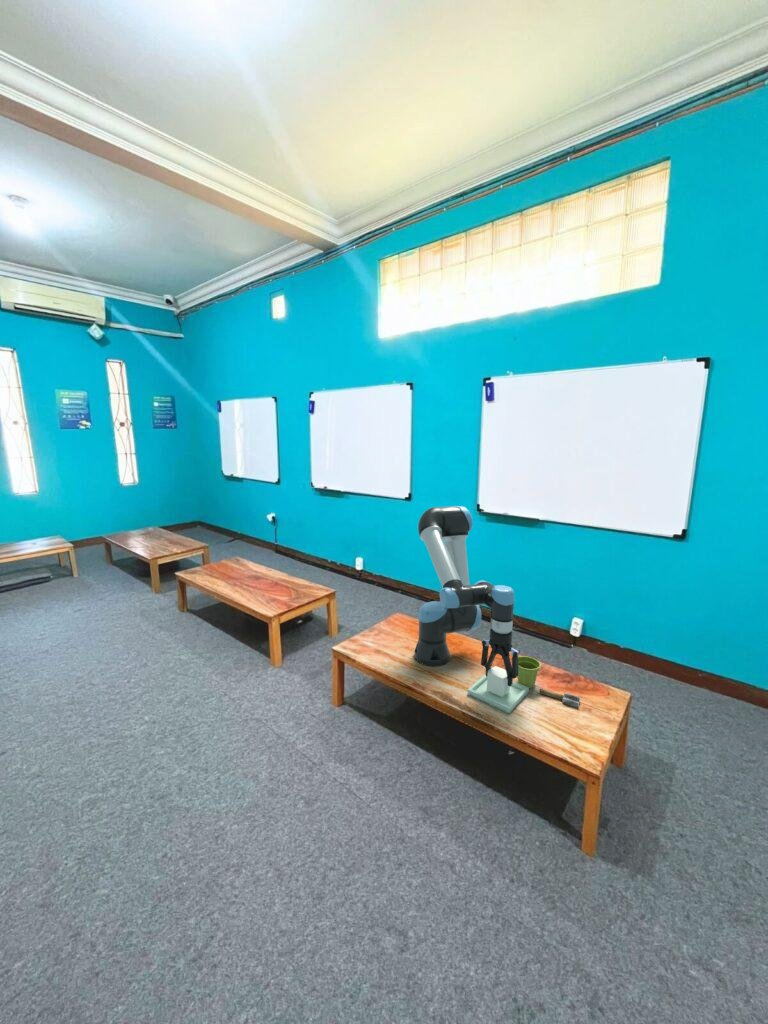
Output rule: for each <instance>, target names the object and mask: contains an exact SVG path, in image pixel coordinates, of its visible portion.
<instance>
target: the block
mask: <svg viewBox="0 0 768 1024" xmlns="http://www.w3.org/2000/svg"><path fill="white" fill-rule="evenodd" d="M506 676H507V673H506V669H505V668H501V667H499V666H496V665H495V666H493V667H492V669H491V670H490V671H489V672H488V674H487V691H490V692H492V693H494V694H496V695H499V696H501V697H503V696H504V695H505V694H504V691H505V677H506Z"/></svg>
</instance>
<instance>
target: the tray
mask: <svg viewBox="0 0 768 1024" xmlns="http://www.w3.org/2000/svg"><path fill="white" fill-rule="evenodd" d="M529 689H530V688H528V687H526V686H523V685H521V684H519V683H518V682H516V681H513V683H512V685H511V686H510V692H509V693H508V694H507V695H506V694H505V695H504V696H503V697H501V696H499V695H496V694H494V693H492V692H490V691H487V677H486V673H484V675H483V676H482V677H480V678H479V679H478V680H477V681H476V682H475V683H474V684H472V686H470V687H469V688H467V696H470V697H472V698H473V699H476V700H478V701H481V702H483V703H484V704H487V705H489V706H491V707H493V708H496V709H498V710H500V711H501V712H505V713H506V714H509V715H510V714H511V712H512V711H514V709H515V708H516V707H517V706H518V705H519V704H520V703H521V701H523V699H525V697H526V696H527V695H528V693H529V691H530V690H529Z"/></svg>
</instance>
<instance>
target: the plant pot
mask: <svg viewBox="0 0 768 1024" xmlns="http://www.w3.org/2000/svg"><path fill="white" fill-rule="evenodd" d="M541 665H542V664H541V662H540V661H539V660H537V659H535V658H534V657H532V656H531V657H530V656H527V655H525V656H524V655H521V656H518V676H517V677H516V678H517V683H519V684H521V685H523V686H526V687H528V688H529V689H531V688H534V687H535V685H536V680H537V676H538V671H539V670H540V669H541Z"/></svg>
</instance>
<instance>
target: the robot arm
mask: <svg viewBox="0 0 768 1024" xmlns="http://www.w3.org/2000/svg"><path fill="white" fill-rule="evenodd" d="M473 524H474V522H473V517H472V514H471V512H470V510H468V508H467V507H465V506H462V505H461V506H460V505H459V506H458V505H452V506H434V507H430V508H428V509H426V510H425V511H423V513H422V514H421V516H420V518H419V520H418V523H417V532H418V536H419V538H420V540H421V541H422V542H424V545H425V547H426V548H427V551H428V552H427V553H429V554H428V555H429V557H430V559H431V562H432V565H433V567H434V570H435V572H436V574H437V576H438V579H439V582H440V585H441V589H440V590H439V598H440V599H439V601H437V600H434V601H428V602H425V603H423V604H422V605H421V606H420V608H419V612H418V640H417V643H416V646H415V647H414V650H413V651H414V656H415V657H414V659H415V658H416V659H415V661H417V660H418V661H419V662H421V663H423V664H422V665H424V664H425V665H424V666H431V667H439V666H443V665H446V664H447V663H448V662H450V659H451V657H450V656H451V652H450V650H449V646H448V643H447V634H452V633H453V634H454V633H460V632H470V631H474V630H476V629H478V628H479V626H480V624H481V621H482V610H481V608H480V607H481V606H482V605H485V606H487V607H488V608H490V628H489V630H490V631H489V639H488V638H485V639H483V640H481V645H482V652H481V653H482V654H481V661H480V665H481V666H482V667H485V674H486V677H487V674H488V672H489V671H490V670H491V669H492V668H493V667H492V666H493V663H494V661H495V658H496V656H497V655H499V656H501V659H502V660H503V664H504V669H505V670H506V673H507V676H506V677H505V691H504V694H506V695H507V694H508V693H509V692H510V686H511V685H512V683H513V680H514V679H516V678H517V676H518V657H520V656H519V655H520V653H521V651H520V649H515V648H514V647H513V645H512V641H513V640H512V639H513V627H514V626H513V623H514V622H513V620H514V619H513V618H514V606H515V591H514V589H513V588H512V587H511V586H507V585H503V584H502V585H501V584H500V585H499V584H498V585H494V584H492V583H490V582H488V581H486V580H483V579H482V580H478V581H477V582H475V583H474V584H472V585H471V584H470V579H469V578H470V576H469V565H468V556H467V545H466V540H467V538H468V537H469V532H470V531H472V529H473ZM489 647H491V651H490V655H489V649H490V648H489ZM510 653H511V655H510ZM510 656H512V657H511V658H510ZM418 661H417V662H418ZM421 663H420V664H421Z"/></svg>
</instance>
